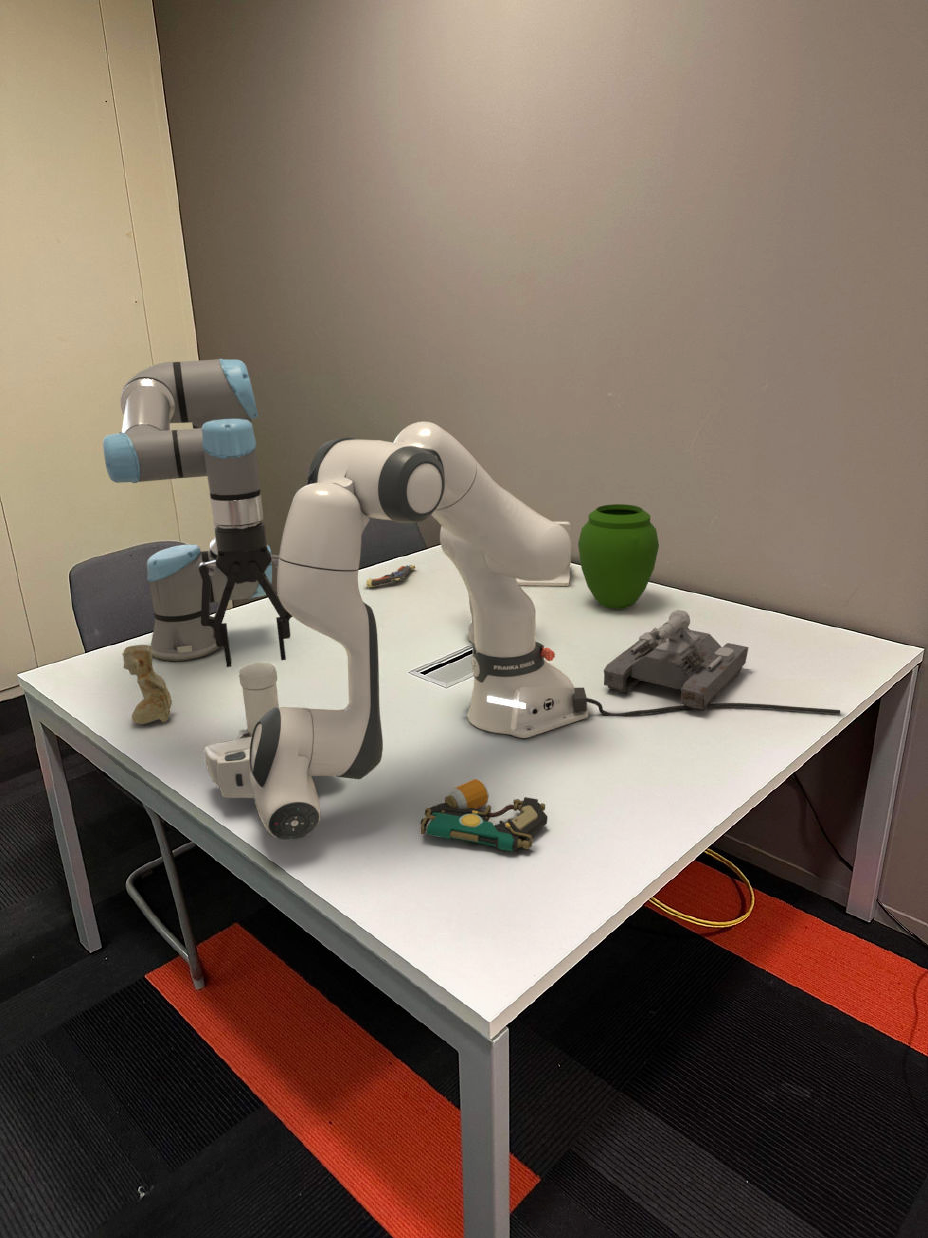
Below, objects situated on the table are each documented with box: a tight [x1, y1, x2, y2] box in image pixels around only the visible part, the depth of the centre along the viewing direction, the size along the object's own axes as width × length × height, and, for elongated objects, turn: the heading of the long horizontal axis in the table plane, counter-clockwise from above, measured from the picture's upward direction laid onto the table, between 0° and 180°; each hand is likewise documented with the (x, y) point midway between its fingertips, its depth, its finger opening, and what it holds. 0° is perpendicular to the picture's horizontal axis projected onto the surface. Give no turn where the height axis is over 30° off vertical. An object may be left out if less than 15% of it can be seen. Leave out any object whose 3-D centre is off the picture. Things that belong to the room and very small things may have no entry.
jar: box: [241, 682, 280, 737], centre depth 143 cm, size 6×6×17 cm
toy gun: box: [365, 564, 417, 588], centre depth 239 cm, size 3×19×10 cm
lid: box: [238, 662, 278, 689], centre depth 140 cm, size 6×6×2 cm
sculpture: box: [122, 644, 173, 725], centre depth 159 cm, size 6×7×15 cm
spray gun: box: [420, 778, 548, 852], centre depth 125 cm, size 4×17×15 cm
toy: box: [603, 609, 749, 711], centre depth 169 cm, size 25×20×15 cm
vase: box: [577, 503, 660, 610], centre depth 210 cm, size 20×20×24 cm
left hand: (256, 660), depth 138 cm, fingers open, 8 cm apart
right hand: (264, 729), depth 144 cm, fingers closed on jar, 5 cm apart
